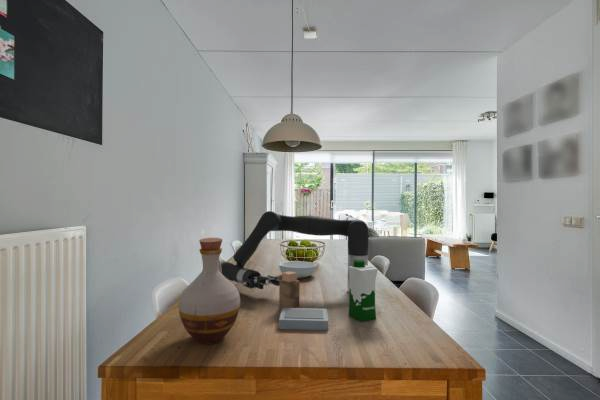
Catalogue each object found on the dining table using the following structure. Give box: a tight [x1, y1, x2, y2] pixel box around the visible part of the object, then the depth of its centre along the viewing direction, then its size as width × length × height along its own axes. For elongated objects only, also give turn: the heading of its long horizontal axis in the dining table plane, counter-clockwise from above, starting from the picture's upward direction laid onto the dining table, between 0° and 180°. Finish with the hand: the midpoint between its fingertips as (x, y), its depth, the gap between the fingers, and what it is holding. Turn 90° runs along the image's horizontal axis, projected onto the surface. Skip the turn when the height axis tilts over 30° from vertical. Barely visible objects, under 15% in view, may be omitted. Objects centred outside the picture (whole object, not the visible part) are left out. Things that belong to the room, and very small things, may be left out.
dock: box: [278, 307, 329, 331], centre depth 112 cm, size 16×12×3 cm
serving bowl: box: [278, 260, 318, 279], centre depth 183 cm, size 21×21×7 cm
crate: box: [278, 279, 301, 311], centre depth 127 cm, size 6×6×11 cm
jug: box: [178, 237, 241, 345], centre depth 99 cm, size 20×18×30 cm
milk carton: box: [347, 260, 378, 322], centre depth 119 cm, size 9×9×20 cm
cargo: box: [281, 271, 298, 282], centre depth 127 cm, size 4×4×3 cm
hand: (271, 285), depth 135 cm, fingers open, 8 cm apart
